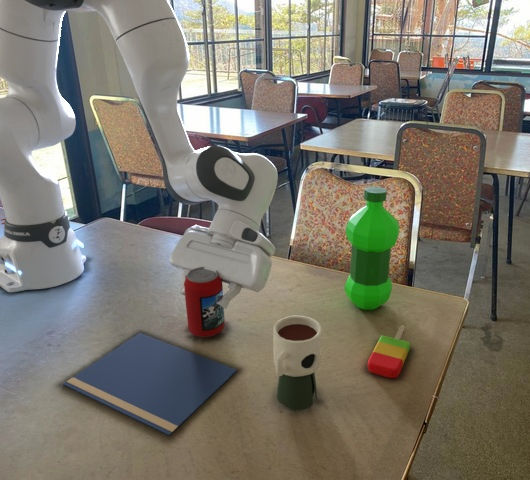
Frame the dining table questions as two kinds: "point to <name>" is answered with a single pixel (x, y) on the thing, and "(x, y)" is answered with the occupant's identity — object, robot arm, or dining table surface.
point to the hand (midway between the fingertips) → (202, 301)
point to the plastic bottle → (371, 251)
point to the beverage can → (204, 302)
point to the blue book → (152, 382)
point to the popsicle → (389, 355)
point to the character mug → (296, 360)
